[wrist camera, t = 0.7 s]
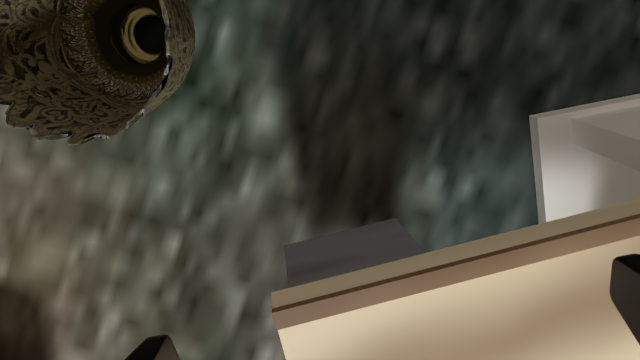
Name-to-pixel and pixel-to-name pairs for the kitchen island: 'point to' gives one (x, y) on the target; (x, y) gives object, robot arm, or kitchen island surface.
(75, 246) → the kitchen island surface
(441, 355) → the beam
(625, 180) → the pivot stand
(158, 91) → the cup
